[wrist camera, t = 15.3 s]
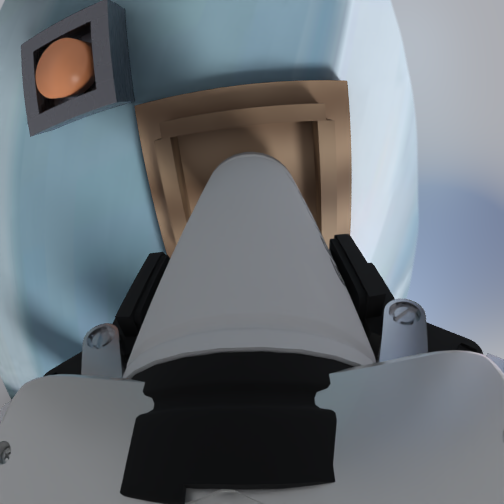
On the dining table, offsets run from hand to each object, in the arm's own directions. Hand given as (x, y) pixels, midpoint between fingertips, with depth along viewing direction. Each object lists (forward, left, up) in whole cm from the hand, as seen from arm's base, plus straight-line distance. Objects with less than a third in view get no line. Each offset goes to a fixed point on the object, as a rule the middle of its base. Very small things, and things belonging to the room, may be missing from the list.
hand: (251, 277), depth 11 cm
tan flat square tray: (0, 0, -14) cm, 14 cm away
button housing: (-13, -13, -14) cm, 23 cm away
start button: (-13, -13, -12) cm, 22 cm away
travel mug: (0, 0, -10) cm, 10 cm away
